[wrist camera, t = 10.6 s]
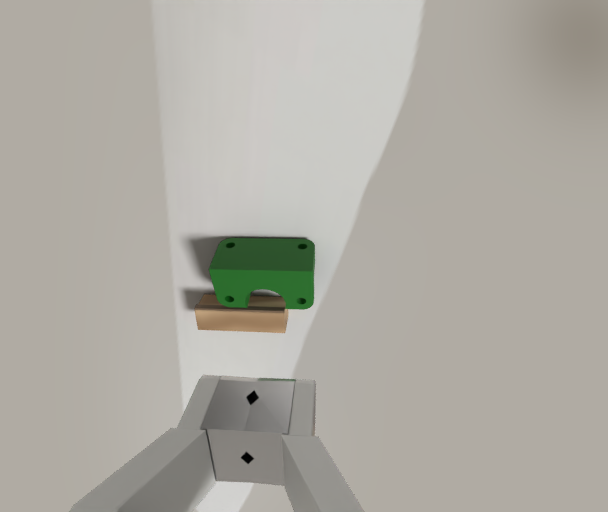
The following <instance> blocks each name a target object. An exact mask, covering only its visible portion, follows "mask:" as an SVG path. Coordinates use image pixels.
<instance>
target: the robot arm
mask: <svg viewBox="0 0 608 512" xmlns="http://www.w3.org/2000/svg"><path fill="white" fill-rule="evenodd" d="M315 406H316V382H315V380H299V379H273V378H247V377H233V376H214V375H203V376H202V377H201V378H200V379H199V381H198V383H197V385H196V388H195V390H194V392H193V394H192V396H191V398H190V401H189V403H188V405H187V407H186V409H185V412H184V414H183V416H182V418H181V420H180V422H179V425H178V427H177V428H170V429H169V430H168V431H167V432H165V433H164V434H163V435H161V436H160V437H159V438H158V439H156V440H155V441H154V442H153V443H151V444H150V445H149V446H148V447H147V448H145V449H144V450H143V451H141V452H140V453H139V454H137V455H136V456H135V457H134V458H132V459H131V460H130V461H129V462H127V463H126V464H125V465H124V466H122V467H121V468H120V469H119V470H117V471H116V472H115V473H113V474H112V475H111V476H110V477H108V478H107V479H106V480H105V481H103V482H102V483H101V484H100V485H98V486H97V487H96V488H95V489H93V490H92V491H91V492H90V493H88V494H87V495H86V496H84V497H83V498H82V499H81V500H79V501H78V502H77V503H76V504H74V505H73V507H72V508H71V510H70V511H69V512H193V510H194V509H195V508H196V507H197V506H198V505H199V503H200V502H201V501H202V500H203V498H204V497H205V496H206V495H207V494H208V492H209V491H210V490H211V489H212V488H213V486H214V485H215V484H216V481H228V482H252V483H262V484H272V485H282V486H285V489H286V492H287V495H288V497H289V500H290V502H291V505H292V507H293V510H294V512H364V510H363V509H362V507H361V505H360V504H359V502H358V500H357V499H356V497H355V496H354V494H353V492H352V491H351V489H350V487H349V486H348V484H347V482H346V481H345V479H344V477H343V476H342V474H341V473H340V471H339V469H338V468H337V466H336V464H335V463H334V461H333V460H332V458H331V456H330V455H329V453H328V451H327V450H326V448H325V447H324V445H323V443H322V442H321V440H320V438H319V437H317V436H315Z"/></svg>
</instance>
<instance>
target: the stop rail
mask: <svg viewBox="0 0 608 512" xmlns="http://www.w3.org/2000/svg"><path fill="white" fill-rule="evenodd" d="M285 305H286V303H285V300H284V299H283V297H270V296H250V299H249V303H248V307H247V308H240V307H226V306H224V305H222V304H220V303H219V302H218V300H217V297H216V295H207V294H204V295H203V297H202V299H201V300H200V302H199V304H197V305H196V306H195V308H194V309H195V315H196V320H197V326H198V330H220V331H246V332H272V333H285V331H286V326H287V320H288V309H285Z"/></svg>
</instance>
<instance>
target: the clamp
mask: <svg viewBox="0 0 608 512" xmlns="http://www.w3.org/2000/svg"><path fill="white" fill-rule="evenodd" d="M314 267H315V245H314V243H313V242H312V241H310V240H307V239H270V238H228V239H225V240H223V241H222V242H220V244H219V245H218V248H217V250H216V253H215V255H214V258H213V260H212V262H211V265H210V267H209V272H210V276H211V279H212V283H213V286H214V290H215V293H216V297H217V300H218V302H219V303H220V304H222V305H224V306H226V307H240V308H247V307H248V303H249V299H250V295H251V292H252V291H254V290H258V289H267V290H271V291H274V292H276V293H278V294H279V295H281V296H282V297H283V299H284V300H285V303H286V305H285V309H308V308H310V307H311V306H312V305H313V302H314Z"/></svg>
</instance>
